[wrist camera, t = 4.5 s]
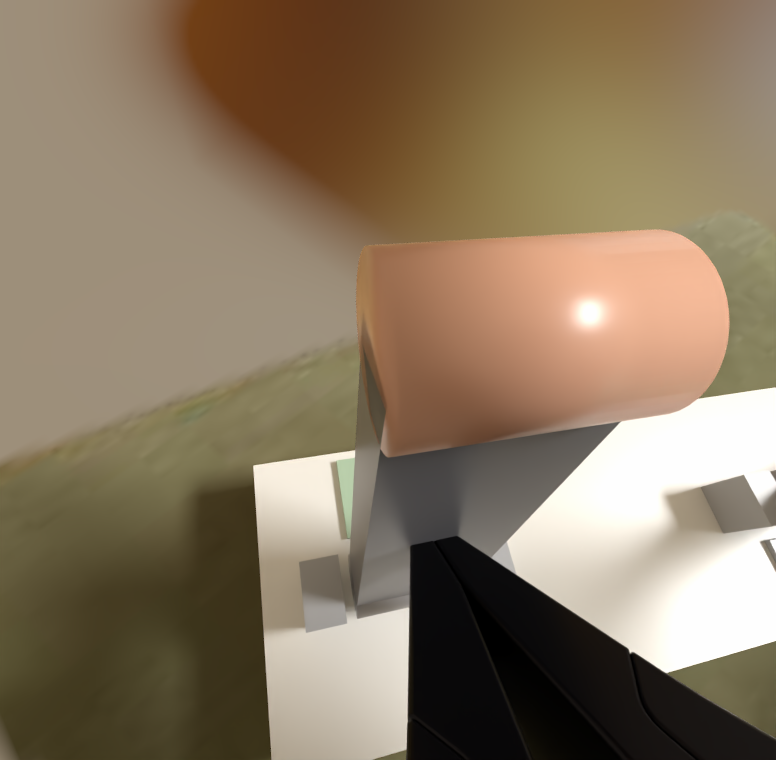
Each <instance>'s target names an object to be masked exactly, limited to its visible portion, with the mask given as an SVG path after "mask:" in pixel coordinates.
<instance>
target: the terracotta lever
mask: <svg viewBox="0 0 776 760" xmlns="http://www.w3.org/2000/svg"><path fill="white" fill-rule="evenodd" d="M356 311H357V312H356V313H357V332H358V344H359V354H360V373H359V391H358V409H357V428H356V446H355V465H354V483H353V501H352V520H351V538H350V554H348V564H349V574H350V582H351V589H352V595H353V602H354V607H355V612H356V617H357V619H360V618H365V617H369V616H373V615H378V614H382V613H387V612H391V611H395V610H400V609H404V608H409V584H410V546H411V545H414V544H419V543H424V542H429V541H434V542H435V541H436V540H439V539H444V538H448V537H453V536H459V537H460V538H462V539H463V540H465V541H467V542H468V543H470V544H471V545H473V546H474V547H476V548H477V549H479V550H480V551H482V552H483V553H485V554H486V555H488V556H489V557H492V556H493V555H494V554H495V553H496V552H497V551H498V550H499V549H500V548H501V547H502V546H503V545H504V544H505V543H506V542H507V541H508V540H509V539H510V537H511V536H512V535H513V534H514V533H515V532H516V531H517V530H518V529H519V528H520V527H521V526H522V525H523V524H524V523H525V522H526V521H527V520H528V519H529V518H530V517H531V515H532V514H533V513H534V512H535V511H536V510H537V509H538V508H539V507H540V506H541V505H542V504H543V503H544V502H545V501H546V500H547V499H548V498H549V497H550V496H551V495H552V493H553V492H554V491H555V490H556V489H557V488H558V487H559V486H560V485H561V484H562V483H563V482H564V481H565V480H566V479H567V478H568V477H569V476H570V475H571V474H572V473H573V471H574V470H575V469H576V468H577V467H578V466H579V465H580V464H581V463H582V462H583V461H584V460H585V459H586V458H587V457H588V456H589V455H590V454H591V453H592V452H593V451H594V449H595V448H596V447H597V446H598V445H599V444H600V443H601V442H602V441H603V440H604V439H605V438H606V437H607V436H608V435H609V434H610V433H611V432H612V431H613V430H614V429H615V427H616V426H617V425H618V424H619V423H620V422H621V421H628V420H634V419H640V418H647V417H653V416H660V415H666V414H671V413H674V412H677V411H680V410H682V409H683V408H685V407H687V406H689V405H690V404H692V403H693V402H694V401H696V400H697V399H698V398H699V397H700V396H701V395H702V394H703V393H704V392H705V391H706V390H707V388H708V387H709V386H710V384H711V383H712V381H713V380H714V378H715V376H716V375H717V373H718V371H719V369H720V367H721V364H722V361H723V358H724V355H725V352H726V347H727V343H728V335H729V309H728V303H727V297H726V293H725V290H724V287H723V283H722V281H721V279H720V276H719V274H718V272H717V270H716V268H715V267H714V265H713V264H712V262H711V261H710V259H709V258H708V256H707V255H706V254H705V253H704V252H703V251H702V250H701V249H700V248H699V247H698V246H697V245H696V244H694V243H693V242H692V241H691V240H689V239H687V238H685V237H683V236H682V235H679V234H677V233H674V232H671V231H665V230H636V231H620V232H619V231H618V232H601V233H582V234H564V235H546V236H529V237H510V238H492V239H474V240H455V241H437V242H419V243H401V244H383V245H366V246H365V247H364V248H363V249H362V252H361V254H360V258H359V263H358V272H357V286H356Z"/></svg>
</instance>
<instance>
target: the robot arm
mask: <svg viewBox="0 0 776 760" xmlns="http://www.w3.org/2000/svg"><path fill="white" fill-rule="evenodd" d="M407 718H408V722H407V753H406V760H776V738H774V737H772V736H770V735H769V734H767V733H765V732H763V731H761V730H760V729H758V728H756V727H754V726H753V725H751V724H749V723H748V722H746V721H744V720H742V719H741V718H739V717H737V716H736V715H734V714H732V713H730V712H729V711H727V710H725V709H724V708H722V707H720V706H719V705H717V704H715V703H713V702H712V701H710V700H708V699H707V698H705V697H703V696H702V695H700V694H698V693H697V692H695V691H694V690H692V689H690V688H689V687H687V686H686V685H684V684H683V683H681V682H679V681H678V680H676V679H675V678H673V677H672V676H670V675H668V674H667V673H665V672H664V671H662V670H661V669H659V668H657V667H656V666H654V665H653V664H651V663H650V662H648V661H647V660H645V659H644V658H642V657H641V656H639V655H638V654H636V653H635V652H631V653H630V651H629V649H628V648H627V647H625V646H624V645H622V644H621V643H619V642H618V641H616V640H615V639H613V638H612V637H610V636H609V635H607V634H606V633H604V632H603V631H601V630H600V629H598V628H597V627H595V626H594V625H592V624H591V623H589V622H588V621H586V620H585V619H583V618H581V617H580V616H578V615H577V614H575V613H574V612H572V611H571V610H569V609H568V608H566V607H565V606H563V605H562V604H560V603H559V602H557V601H556V600H554V599H553V598H551V597H550V596H548V595H547V594H545V593H544V592H542V591H541V590H539V589H538V588H536V587H535V586H533V585H532V584H530V583H529V582H527V581H526V580H524V579H522V578H521V577H519V576H518V575H516V574H515V573H513V572H512V571H510V570H509V569H507V568H506V567H504V566H503V565H501V564H500V563H498V562H497V561H495V560H494V559H492V558H491V557H489V556H488V555H486V554H485V553H483V552H482V551H480V550H479V549H477V548H476V547H474V546H473V545H471V544H470V543H468V542H467V541H465V540H463V539H462V538H460V537H459V536H453V537H448V538H444V539H439V540H436V541H435V542H434V541H429V542H424V543H419V544H414V545H411V546H410V584H409V647H408V710H407Z"/></svg>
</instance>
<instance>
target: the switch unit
mask: <svg viewBox="0 0 776 760" xmlns="http://www.w3.org/2000/svg"><path fill="white" fill-rule="evenodd" d="M354 465H355V450H354V451H348V452H341V453H334V454H328V455H321V456H314V457H308V458H301V459H294V460H287V461H281V462H274V463H267V464H261V465H254V466H253V468H254V484H255V500H256V516H257V533H258V549H259V565H260V581H261V597H262V613H263V629H264V645H265V661H266V678H267V694H268V710H269V726H270V742H271V758H272V760H372V759H376V758H379V757H383V756H386V755H389V754H393V753H396V752H400V751H403V750H406V749H407V722H408V718H407V710H408V647H409V608H404V609H400V610H395V611H391V612H387V613H382V614H378V615H373V616H369V617H365V618H360V619H357V617H356V612H355V607H354V602H353V595H352V589H351V582H350V574H349V564H348V554H350V538H351V520H352V501H353V483H354ZM773 470H776V388H769V389H762V390H755V391H749V392H742V393H735V394H729V395H722V396H715V397H709V398H702V399H697V400H696V401H694V402H693V403H692V404H690V405H689V406H687V407H685V408H683V409H682V410H680V411H677V412H674V413H671V414H666V415H660V416H653V417H647V418H640V419H634V420H628V421H621V422H620V423H619V424H618V425H617V426H616V427H615V429H614V430H613V431H612V432H611V433H610V434H609V435H608V436H607V437H606V438H605V439H604V440H603V441H602V442H601V443H600V444H599V445H598V446H597V447H596V448H595V449H594V451H593V452H592V453H591V454H590V455H589V456H588V457H587V458H586V459H585V460H584V461H583V462H582V463H581V464H580V465H579V466H578V467H577V468H576V469H575V470H574V471H573V473H572V474H571V475H570V476H569V477H568V478H567V479H566V480H565V481H564V482H563V483H562V484H561V485H560V486H559V487H558V488H557V489H556V490H555V491H554V492H553V493H552V495H551V496H550V497H549V498H548V499H547V500H546V501H545V502H544V503H543V504H542V505H541V506H540V507H539V508H538V509H537V510H536V511H535V512H534V513H533V514H532V515H531V517H530V518H529V519H528V520H527V521H526V522H525V523H524V524H523V525H522V526H521V527H520V528H519V529H518V530H517V531H516V532H515V533H514V534H513V535H512V536H511V537H510V539H509V540H508V541H507V542H506V543H505V544H504V545H503V546H502V547H501V548H500V549H499V550H498V551H497V552H496V553H495V554H494V555H493V556H492V557H491V558H492V559H494V560H495V561H497V562H498V563H500V564H501V565H503V566H504V567H506V568H507V569H509V570H510V571H512V572H513V573H515V574H516V575H518V576H519V577H521V578H522V579H524V580H526V581H527V582H529V583H530V584H532V585H533V586H535V587H536V588H538V589H539V590H541V591H542V592H544V593H545V594H547V595H548V596H550V597H551V598H553V599H554V600H556V601H557V602H559V603H560V604H562V605H563V606H565V607H566V608H568V609H569V610H571V611H572V612H574V613H575V614H577V615H578V616H580V617H581V618H583V619H585V620H586V621H588V622H589V623H591V624H592V625H594V626H595V627H597V628H598V629H600V630H601V631H603V632H604V633H606V634H607V635H609V636H610V637H612V638H613V639H615V640H616V641H618V642H619V643H621V644H622V645H624V646H625V647H627V648H628V649H629V651H630V653H631V652H635V653H636V654H638V655H639V656H641V657H642V658H644V659H645V660H647V661H648V662H650V663H651V664H653V665H654V666H656V667H657V668H659V669H661V670H662V671H664V672H665V673H668V672H671V671H674V670H678V669H681V668H685V667H688V666H691V665H695V664H698V663H702V662H705V661H708V660H712V659H715V658H719V657H722V656H725V655H729V654H732V653H736V652H739V651H742V650H746V649H749V648H753V647H756V646H759V645H763V644H766V643H769V642H773V641H776V481H775V479H774V478H773V476H772V474H771V472H770V471H773Z"/></svg>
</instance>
